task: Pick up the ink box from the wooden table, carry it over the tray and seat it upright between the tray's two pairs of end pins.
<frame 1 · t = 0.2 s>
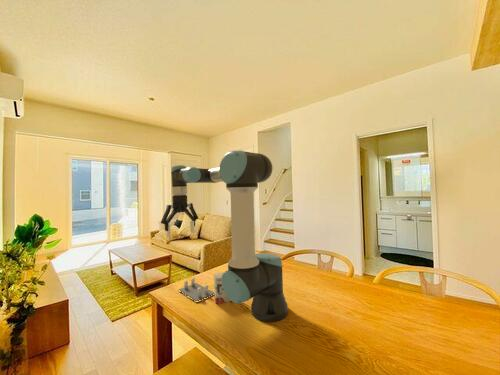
hand: (181, 234, 114), 28 cm above the table, tool pointing down, fingers open, 13 cm apart
pin tray: (196, 293, 106), on the table
ink box: (224, 300, 99), on the table
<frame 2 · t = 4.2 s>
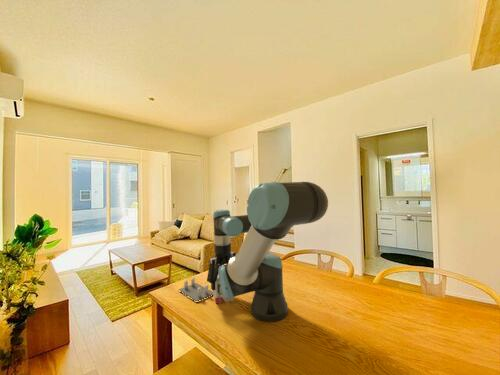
hand: (224, 292, 99), 4 cm above the table, tool pointing down, fingers closed on ink box, 9 cm apart
ink box: (224, 300, 99), on the table, touching gripper
everything else where it was.
when the fingers open (6 cm above the table, at t = 10.9 s): ink box drops 1 cm, resting on pin tray.
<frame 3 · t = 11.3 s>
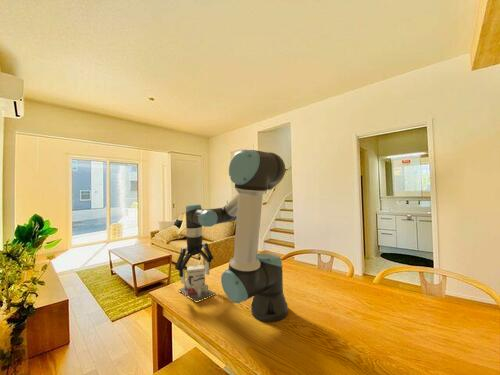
hand: (195, 278, 106), 7 cm above the table, tool pointing down, fingers open, 13 cm apart
ink box: (196, 291, 106), point 1 cm above the table, touching pin tray
everything else where it was.
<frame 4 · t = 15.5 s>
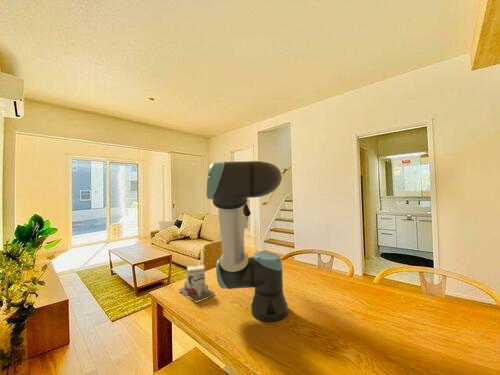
hand: (236, 229, 117), 29 cm above the table, tool pointing down, fingers open, 13 cm apart
nothing on the table moved.
at the end: ink box 0.1 cm off-centre on the pin tray, point 0.8 cm above the pin tray's base; ink box tilted 0°; the gripper is holding nothing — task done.
